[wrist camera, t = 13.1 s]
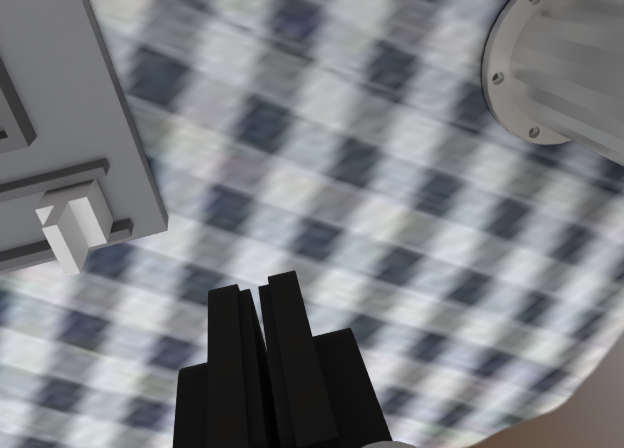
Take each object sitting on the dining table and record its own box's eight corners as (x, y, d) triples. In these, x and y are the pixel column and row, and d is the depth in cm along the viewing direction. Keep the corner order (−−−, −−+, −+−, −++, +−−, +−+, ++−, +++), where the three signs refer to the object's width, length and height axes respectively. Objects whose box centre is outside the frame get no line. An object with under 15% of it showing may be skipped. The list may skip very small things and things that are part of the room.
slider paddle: (95, 176, 34) (77, 219, 29) (113, 219, 36) (99, 268, 31) (47, 188, 34) (20, 233, 29) (68, 231, 36) (46, 282, 30)
